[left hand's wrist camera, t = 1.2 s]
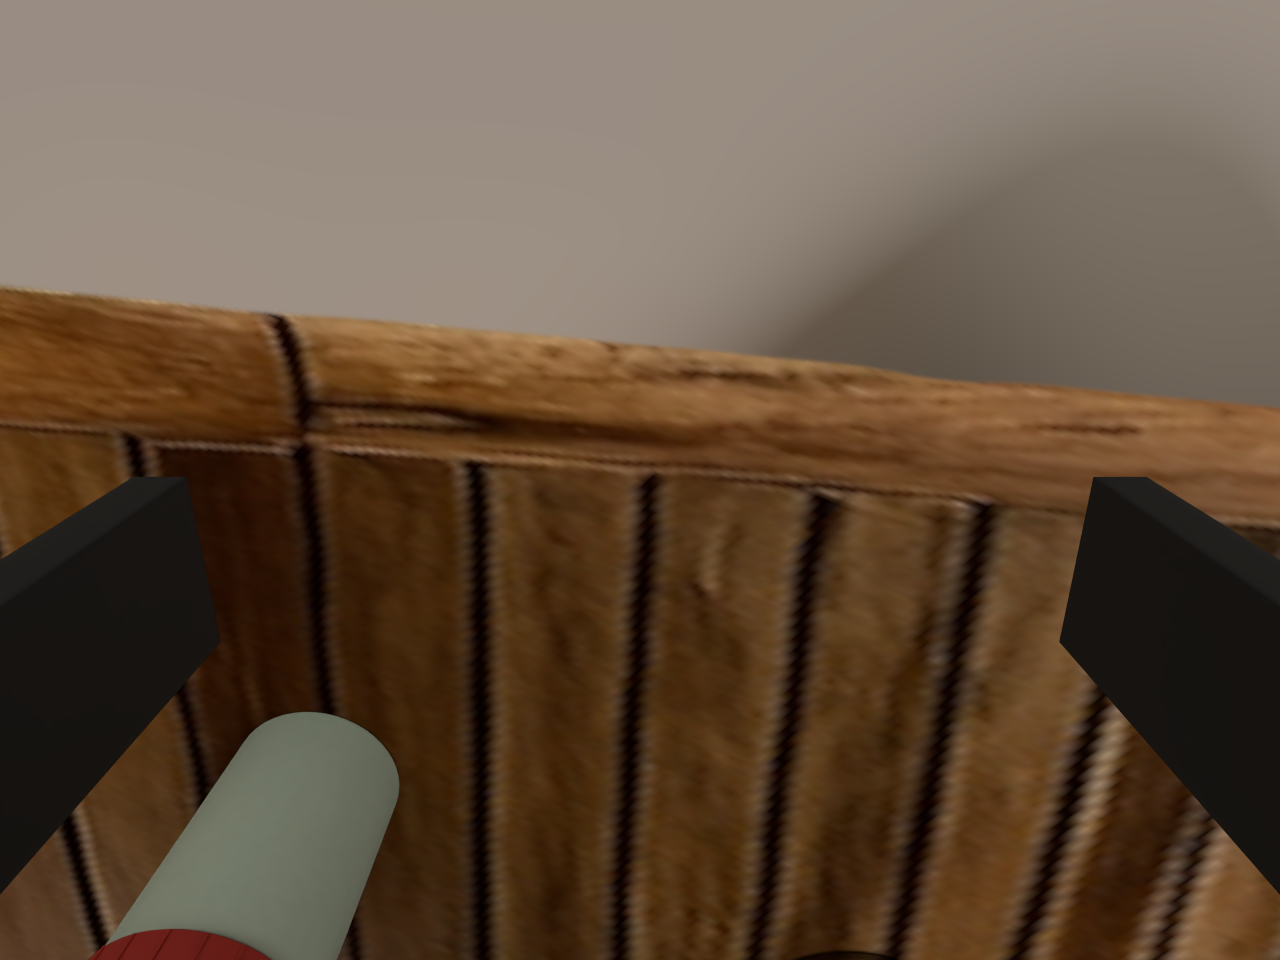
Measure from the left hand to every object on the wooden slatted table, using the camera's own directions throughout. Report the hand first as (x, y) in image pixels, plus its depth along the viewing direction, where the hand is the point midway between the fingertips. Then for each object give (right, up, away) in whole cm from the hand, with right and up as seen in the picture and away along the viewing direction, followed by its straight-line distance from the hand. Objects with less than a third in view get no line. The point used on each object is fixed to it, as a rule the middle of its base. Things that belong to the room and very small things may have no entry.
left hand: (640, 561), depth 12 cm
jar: (-19, -16, +36) cm, 44 cm away
